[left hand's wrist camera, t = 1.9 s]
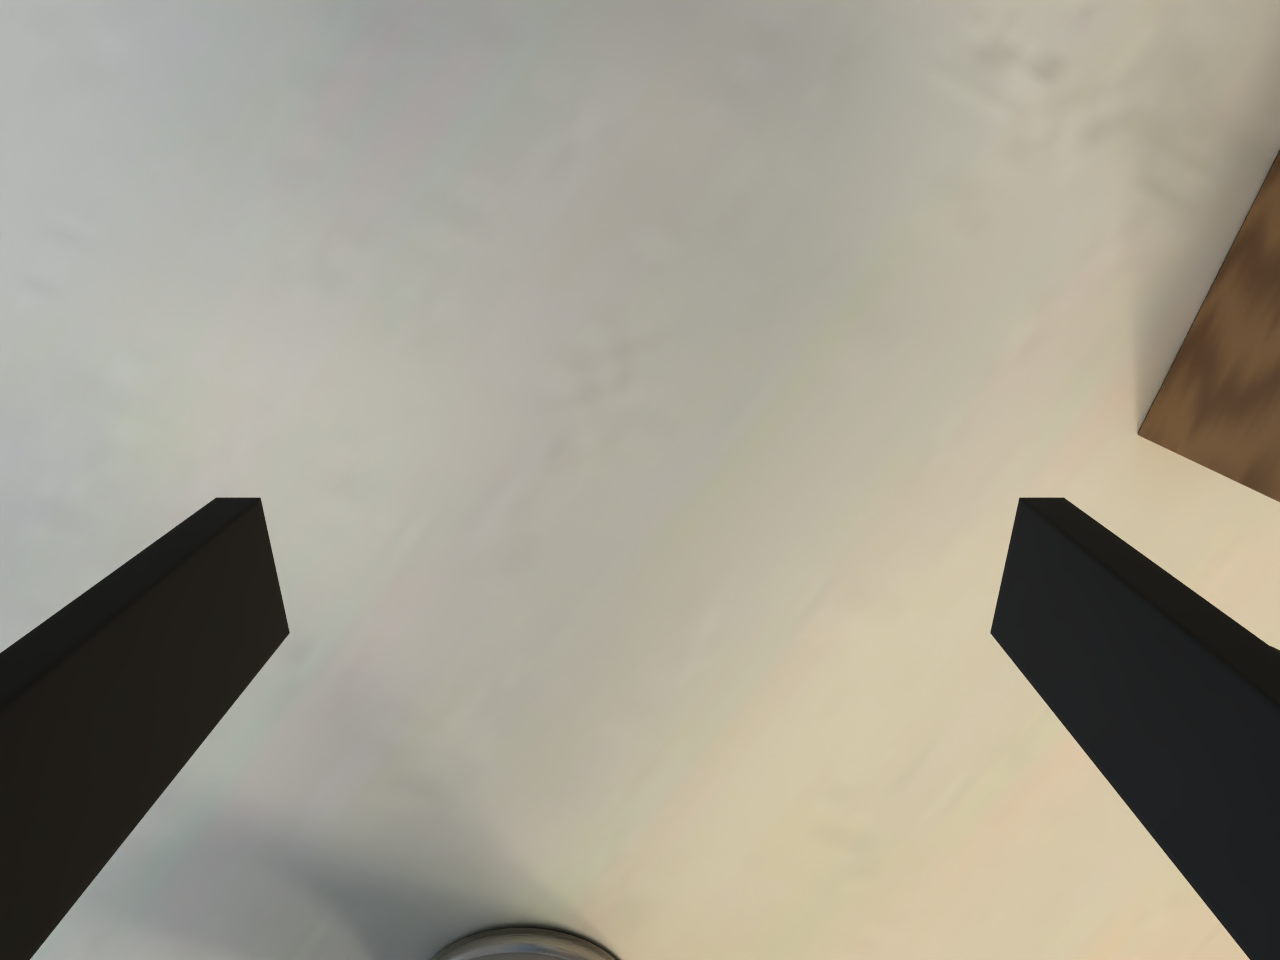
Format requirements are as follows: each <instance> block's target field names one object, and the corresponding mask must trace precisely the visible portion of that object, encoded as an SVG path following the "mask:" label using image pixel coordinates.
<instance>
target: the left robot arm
mask: <svg viewBox="0 0 1280 960" xmlns="http://www.w3.org/2000/svg"><path fill="white" fill-rule="evenodd" d="M288 634H289V628H288V623H287V619H286V614H285V609H284V605H283V600H282V595H281V591H280V586H279V582H278V577H277V572H276V568H275V563H274V558H273V554H272V549H271V544H270V540H269V535H268V530H267V526H266V521H265V516H264V512H263V507H262V503H261V498H215V499H214V500H212V501H211V502H210V503H208V504H207V505H205V506H204V507H203V508H201V509H200V510H198V511H197V512H196V513H194V514H193V515H192V516H190V517H189V518H187V519H186V520H185V521H183V522H182V523H180V524H179V525H178V526H176V527H175V528H173V529H172V530H171V531H169V532H168V533H167V534H165V535H164V536H162V537H161V538H160V539H158V540H157V541H155V542H154V543H153V544H151V545H150V546H149V547H147V548H146V549H144V550H143V551H142V552H140V553H139V554H137V555H136V556H135V557H133V558H132V559H130V560H129V561H128V562H126V563H125V564H124V565H122V566H121V567H119V568H118V569H117V570H115V571H114V572H112V573H111V574H110V575H108V576H107V577H106V578H104V579H103V580H101V581H100V582H99V583H97V584H96V585H94V586H93V587H92V588H90V589H89V590H87V591H86V592H85V593H83V594H82V595H81V596H79V597H78V598H76V599H75V600H74V601H72V602H71V603H69V604H68V605H67V606H65V607H64V608H63V609H61V610H60V611H58V612H57V613H56V614H54V615H53V616H51V617H50V618H49V619H47V620H46V621H44V622H43V623H42V624H40V625H39V626H38V627H36V628H35V629H33V630H32V631H31V632H29V633H28V634H26V635H25V636H24V637H22V638H21V639H20V640H18V641H17V642H15V643H14V644H13V645H11V646H10V647H8V648H7V649H6V650H4V651H3V652H1V653H0V960H30V959H31V958H32V956H33V955H34V954H35V953H36V951H37V950H38V949H39V948H40V946H41V945H42V944H43V942H44V941H45V940H46V939H47V937H48V936H49V935H50V934H51V932H52V931H53V930H54V929H55V927H56V926H57V925H58V924H59V922H60V921H61V920H62V919H63V917H64V916H65V915H66V914H67V912H68V911H69V910H70V909H71V907H72V906H73V905H74V903H75V902H76V901H77V900H78V898H79V897H80V896H81V895H82V893H83V892H84V891H85V890H86V888H87V887H88V886H89V885H90V883H91V882H92V881H93V880H94V878H95V877H96V876H97V875H98V873H99V872H100V871H101V870H102V868H103V867H104V866H105V864H106V863H107V862H108V861H109V859H110V858H111V857H112V856H113V854H114V853H115V852H116V851H117V849H118V848H119V847H120V846H121V844H122V843H123V842H124V841H125V839H126V838H127V837H128V836H129V834H130V833H131V832H132V831H133V829H134V828H135V827H136V826H137V824H138V823H139V822H140V820H141V819H142V818H143V817H144V815H145V814H146V813H147V812H148V810H149V809H150V808H151V807H152V805H153V804H154V803H155V802H156V800H157V799H158V798H159V797H160V795H161V794H162V793H163V792H164V790H165V789H166V788H167V787H168V785H169V784H170V783H171V781H172V780H173V779H174V778H175V776H176V775H177V774H178V773H179V771H180V770H181V769H182V768H183V766H184V765H185V764H186V763H187V761H188V760H189V759H190V758H191V756H192V755H193V754H194V753H195V751H196V750H197V749H198V748H199V746H200V745H201V744H202V742H203V741H204V740H205V739H206V737H207V736H208V735H209V734H210V732H211V731H212V730H213V729H214V727H215V726H216V725H217V724H218V722H219V721H220V720H221V719H222V717H223V716H224V715H225V714H226V712H227V711H228V710H229V709H230V707H231V706H232V705H233V704H234V702H235V701H236V700H237V698H238V697H239V696H240V695H241V693H242V692H243V691H244V690H245V688H246V687H247V686H248V685H249V683H250V682H251V681H252V680H253V678H254V677H255V676H256V675H257V673H258V672H259V671H260V670H261V668H262V667H263V666H264V665H265V663H266V662H267V661H268V659H269V658H270V657H271V656H272V654H273V653H274V652H275V651H276V649H277V648H278V647H279V646H280V644H281V643H282V642H283V641H284V639H285V638H286V637H287V636H288ZM991 634H992V636H993V637H994V638H995V639H996V641H997V642H998V643H999V644H1000V646H1001V647H1002V648H1003V649H1004V651H1005V652H1006V653H1007V654H1008V656H1009V657H1010V658H1011V659H1012V661H1013V662H1014V663H1015V665H1016V666H1017V667H1018V668H1019V670H1020V671H1021V672H1022V673H1023V675H1024V676H1025V677H1026V678H1027V680H1028V681H1029V682H1030V683H1031V685H1032V686H1033V687H1034V688H1035V690H1036V691H1037V692H1038V693H1039V695H1040V696H1041V697H1042V698H1043V700H1044V701H1045V702H1046V704H1047V705H1048V706H1049V707H1050V709H1051V710H1052V711H1053V712H1054V714H1055V715H1056V716H1057V717H1058V719H1059V720H1060V721H1061V722H1062V724H1063V725H1064V726H1065V727H1066V729H1067V730H1068V731H1069V732H1070V734H1071V735H1072V736H1073V737H1074V739H1075V740H1076V741H1077V742H1078V744H1079V745H1080V746H1081V748H1082V749H1083V750H1084V751H1085V753H1086V754H1087V755H1088V756H1089V758H1090V759H1091V760H1092V761H1093V763H1094V764H1095V765H1096V766H1097V768H1098V769H1099V770H1100V771H1101V773H1102V774H1103V775H1104V776H1105V778H1106V779H1107V780H1108V781H1109V783H1110V784H1111V785H1112V787H1113V788H1114V789H1115V790H1116V792H1117V793H1118V794H1119V795H1120V797H1121V798H1122V799H1123V800H1124V802H1125V803H1126V804H1127V805H1128V807H1129V808H1130V809H1131V810H1132V812H1133V813H1134V814H1135V815H1136V817H1137V818H1138V819H1139V820H1140V822H1141V823H1142V824H1143V826H1144V827H1145V828H1146V829H1147V831H1148V832H1149V833H1150V834H1151V836H1152V837H1153V838H1154V839H1155V841H1156V842H1157V843H1158V844H1159V846H1160V847H1161V848H1162V849H1163V851H1164V852H1165V853H1166V854H1167V856H1168V857H1169V858H1170V859H1171V861H1172V862H1173V863H1174V864H1175V866H1176V867H1177V868H1178V870H1179V871H1180V872H1181V873H1182V875H1183V876H1184V877H1185V878H1186V880H1187V881H1188V882H1189V883H1190V885H1191V886H1192V887H1193V888H1194V890H1195V891H1196V892H1197V893H1198V895H1199V896H1200V897H1201V898H1202V900H1203V901H1204V902H1205V903H1206V905H1207V906H1208V907H1209V909H1210V910H1211V911H1212V912H1213V914H1214V915H1215V916H1216V917H1217V919H1218V920H1219V921H1220V922H1221V924H1222V925H1223V926H1224V927H1225V929H1226V930H1227V931H1228V932H1229V934H1230V935H1231V936H1232V937H1233V939H1234V940H1235V941H1236V942H1237V944H1238V945H1239V946H1240V948H1241V949H1242V950H1243V951H1244V953H1245V954H1246V955H1247V956H1248V958H1249V959H1250V960H1280V650H1278V649H1276V648H1274V647H1272V646H1269V645H1267V644H1266V643H1265V642H1263V641H1262V640H1260V639H1259V638H1258V637H1256V636H1255V635H1254V634H1252V633H1251V632H1249V631H1248V630H1247V629H1245V628H1244V627H1242V626H1241V625H1240V624H1238V623H1237V622H1236V621H1234V620H1233V619H1231V618H1230V617H1229V616H1227V615H1226V614H1224V613H1223V612H1222V611H1220V610H1219V609H1217V608H1216V607H1215V606H1213V605H1212V604H1211V603H1209V602H1208V601H1206V600H1205V599H1204V598H1202V597H1201V596H1199V595H1198V594H1197V593H1195V592H1194V591H1193V590H1191V589H1190V588H1188V587H1187V586H1186V585H1184V584H1183V583H1181V582H1180V581H1179V580H1177V579H1176V578H1174V577H1173V576H1172V575H1170V574H1169V573H1168V572H1166V571H1165V570H1163V569H1162V568H1161V567H1159V566H1158V565H1156V564H1155V563H1154V562H1152V561H1151V560H1150V559H1148V558H1147V557H1145V556H1144V555H1143V554H1141V553H1140V552H1138V551H1137V550H1136V549H1134V548H1133V547H1131V546H1130V545H1129V544H1127V543H1126V542H1125V541H1123V540H1122V539H1120V538H1119V537H1118V536H1116V535H1115V534H1113V533H1112V532H1111V531H1109V530H1108V529H1107V528H1105V527H1104V526H1102V525H1101V524H1100V523H1098V522H1097V521H1095V520H1094V519H1093V518H1091V517H1090V516H1088V515H1087V514H1086V513H1084V512H1083V511H1082V510H1080V509H1079V508H1077V507H1076V506H1075V505H1073V504H1072V503H1070V502H1069V501H1068V500H1066V499H1065V498H1019V503H1018V507H1017V512H1016V516H1015V521H1014V526H1013V530H1012V535H1011V540H1010V544H1009V549H1008V554H1007V558H1006V563H1005V568H1004V572H1003V577H1002V582H1001V586H1000V591H999V595H998V600H997V605H996V609H995V614H994V619H993V623H992V628H991ZM431 960H616V959H615V958H614V957H612V956H611V955H610V954H608V953H607V952H606V951H604V950H602V949H601V948H599V947H597V946H596V945H594V944H592V943H590V942H588V941H585V940H583V939H580V938H578V937H575V936H572V935H569V934H565V933H561V932H557V931H552V930H546V929H538V928H505V929H496V930H491V931H486V932H482V933H478V934H474V935H472V936H469V937H466V938H464V939H461V940H459V941H457V942H455V943H453V944H451V945H449V946H448V947H446V948H445V949H443V950H442V951H440V952H439V953H438V954H437V955H436V956H434V957H433V958H432V959H431Z"/></svg>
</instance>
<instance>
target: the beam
mask: <svg viewBox="0 0 1280 960" xmlns="http://www.w3.org/2000/svg"><path fill="white" fill-rule="evenodd" d="M1138 435H1139V436H1141V437H1143V438H1146V439H1148V440H1150V441H1152V442H1154V443H1156V444H1158V445H1160V446H1162V447H1164V448H1167V449H1169V450H1171V451H1173V452H1175V453H1177V454H1179V455H1181V456H1183V457H1186V458H1188V459H1190V460H1192V461H1194V462H1196V463H1198V464H1200V465H1202V466H1205V467H1207V468H1209V469H1211V470H1213V471H1215V472H1217V473H1219V474H1221V475H1224V476H1226V477H1228V478H1230V479H1232V480H1234V481H1236V482H1238V483H1240V484H1242V485H1245V486H1247V487H1249V488H1251V489H1253V490H1255V491H1257V492H1259V493H1261V494H1264V495H1266V496H1268V497H1270V498H1272V499H1274V500H1276V501H1278V502H1280V152H1279V154H1278V156H1277V158H1276V160H1275V162H1274V164H1273V166H1272V168H1271V170H1270V172H1269V174H1268V176H1267V178H1266V180H1265V182H1264V184H1263V186H1262V188H1261V190H1260V192H1259V194H1258V196H1257V198H1256V200H1255V202H1254V204H1253V206H1252V208H1251V210H1250V212H1249V214H1248V216H1247V218H1246V220H1245V222H1244V224H1243V226H1242V228H1241V230H1240V232H1239V234H1238V236H1237V238H1236V240H1235V242H1234V244H1233V246H1232V248H1231V250H1230V252H1229V254H1228V256H1227V258H1226V260H1225V262H1224V264H1223V266H1222V268H1221V270H1220V272H1219V274H1218V276H1217V278H1216V280H1215V282H1214V284H1213V286H1212V288H1211V290H1210V292H1209V294H1208V296H1207V297H1206V299H1205V301H1204V303H1203V305H1202V307H1201V309H1200V311H1199V313H1198V315H1197V317H1196V319H1195V321H1194V323H1193V325H1192V327H1191V329H1190V331H1189V333H1188V335H1187V337H1186V339H1185V341H1184V343H1183V345H1182V347H1181V349H1180V351H1179V353H1178V355H1177V357H1176V359H1175V361H1174V363H1173V365H1172V367H1171V369H1170V371H1169V373H1168V375H1167V377H1166V379H1165V381H1164V383H1163V385H1162V387H1161V389H1160V391H1159V393H1158V395H1157V397H1156V399H1155V401H1154V403H1153V405H1152V407H1151V409H1150V411H1149V413H1148V415H1147V417H1146V419H1145V421H1144V423H1143V425H1142V427H1141V429H1140V431H1139V433H1138Z"/></svg>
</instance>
